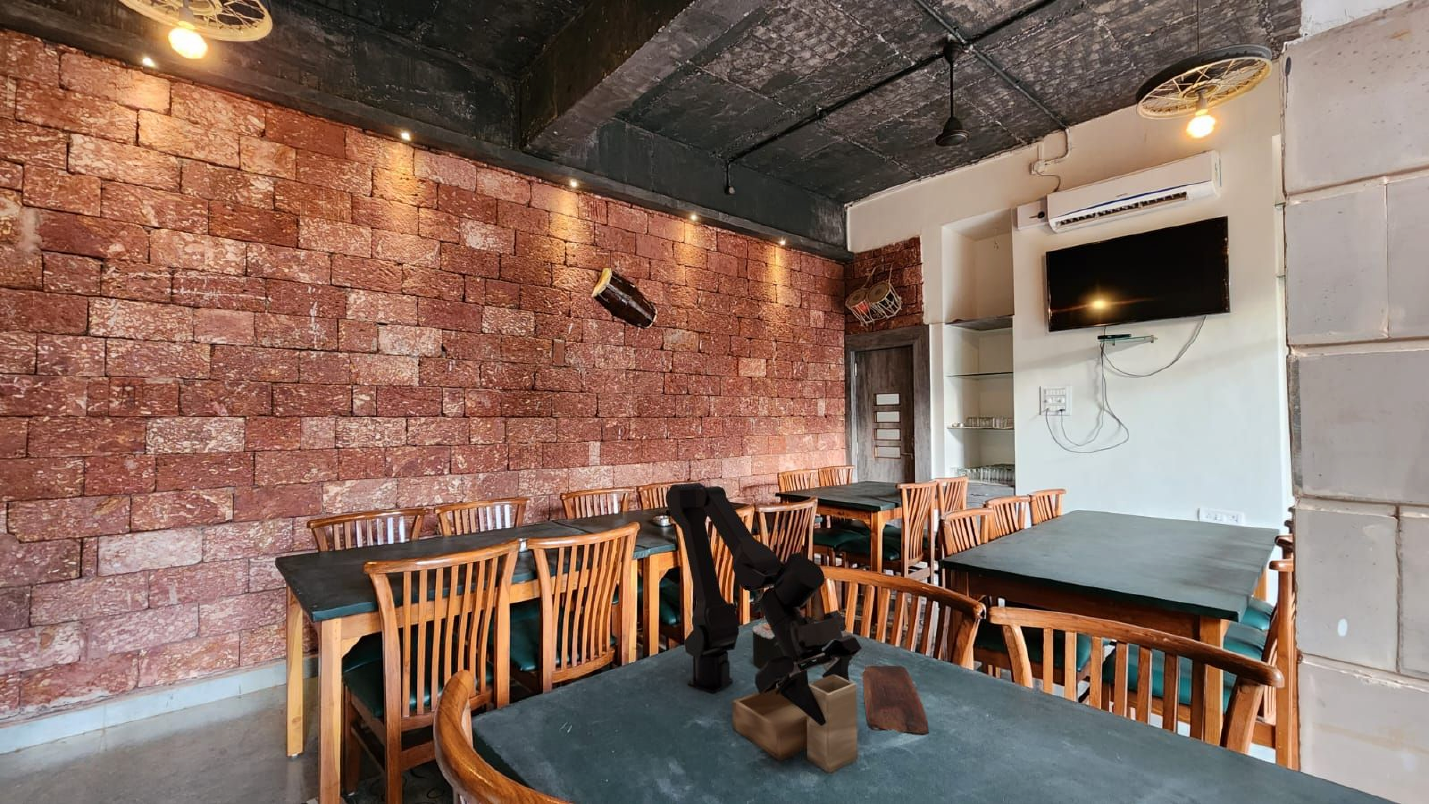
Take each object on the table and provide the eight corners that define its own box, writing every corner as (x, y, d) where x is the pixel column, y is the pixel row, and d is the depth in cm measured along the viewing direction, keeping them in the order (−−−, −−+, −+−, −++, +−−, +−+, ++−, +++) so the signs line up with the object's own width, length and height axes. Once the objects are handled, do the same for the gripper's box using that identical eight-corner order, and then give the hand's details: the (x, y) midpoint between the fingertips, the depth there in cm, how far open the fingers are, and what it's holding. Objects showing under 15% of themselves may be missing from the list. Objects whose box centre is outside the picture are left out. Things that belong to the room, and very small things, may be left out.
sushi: (771, 653, 128) (771, 616, 129) (801, 664, 122) (800, 626, 122) (745, 664, 123) (745, 625, 123) (775, 676, 117) (775, 635, 117)
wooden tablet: (860, 659, 122) (910, 657, 120) (862, 670, 122) (912, 668, 120) (865, 724, 96) (929, 723, 94) (867, 738, 96) (931, 737, 94)
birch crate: (807, 758, 88) (806, 684, 89) (835, 745, 92) (834, 674, 92) (829, 773, 85) (828, 695, 85) (857, 759, 88) (856, 684, 88)
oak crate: (733, 728, 97) (732, 701, 97) (792, 705, 105) (792, 679, 105) (779, 761, 88) (779, 730, 88) (841, 732, 95) (841, 704, 96)
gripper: (766, 606, 87) (822, 712, 77) (851, 585, 98) (909, 676, 88) (734, 644, 93) (782, 747, 83) (817, 620, 104) (868, 708, 94)
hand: (838, 717), depth 87 cm, fingers closed on birch crate, 6 cm apart
